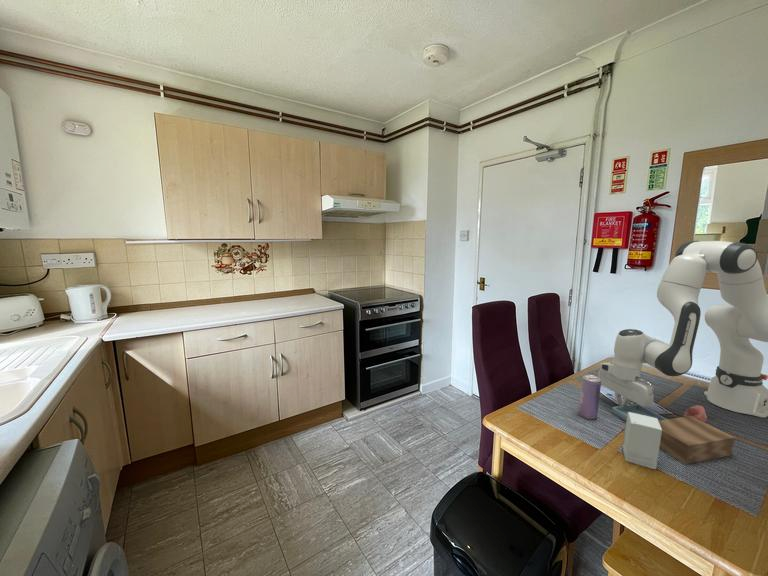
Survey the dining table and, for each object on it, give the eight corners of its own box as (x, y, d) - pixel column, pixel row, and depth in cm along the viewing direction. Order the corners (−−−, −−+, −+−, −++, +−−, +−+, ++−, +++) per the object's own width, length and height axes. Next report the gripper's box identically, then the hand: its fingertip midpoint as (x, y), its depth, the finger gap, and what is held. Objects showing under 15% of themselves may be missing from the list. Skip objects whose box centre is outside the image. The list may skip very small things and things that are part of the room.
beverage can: (600, 420, 117) (604, 382, 115) (581, 419, 118) (586, 380, 116) (592, 412, 123) (597, 375, 120) (575, 410, 124) (579, 373, 121)
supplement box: (656, 470, 92) (662, 430, 90) (624, 461, 96) (629, 422, 94) (652, 455, 99) (658, 417, 97) (622, 447, 102) (627, 410, 100)
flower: (714, 408, 114) (698, 397, 115) (716, 426, 109) (700, 415, 110) (692, 415, 120) (677, 405, 121) (693, 432, 115) (678, 422, 116)
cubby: (687, 432, 110) (690, 415, 109) (731, 455, 99) (735, 437, 98) (645, 439, 106) (647, 422, 106) (685, 464, 95) (688, 445, 94)
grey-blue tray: (637, 409, 124) (637, 403, 124) (692, 439, 106) (693, 433, 106) (611, 413, 122) (611, 407, 121) (663, 444, 104) (664, 437, 103)
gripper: (661, 383, 113) (655, 419, 115) (609, 361, 132) (605, 392, 135) (646, 385, 111) (641, 421, 114) (596, 362, 131) (592, 393, 133)
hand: (621, 405), depth 124 cm, fingers closed
